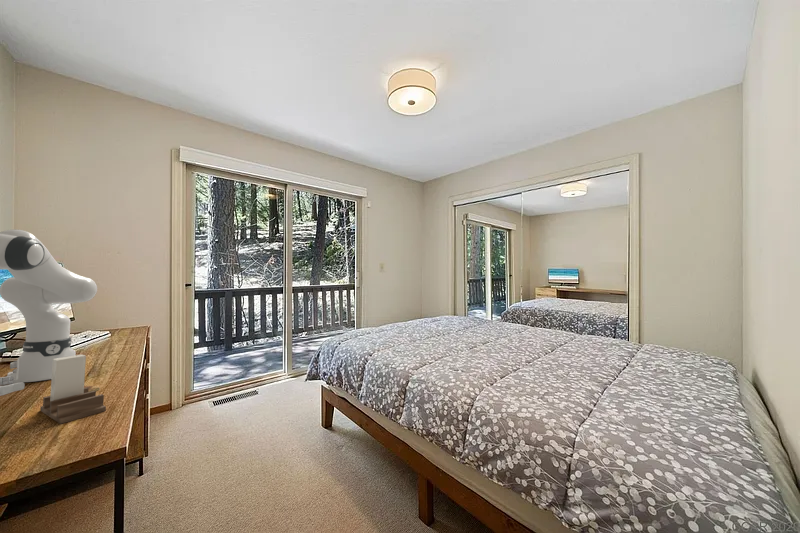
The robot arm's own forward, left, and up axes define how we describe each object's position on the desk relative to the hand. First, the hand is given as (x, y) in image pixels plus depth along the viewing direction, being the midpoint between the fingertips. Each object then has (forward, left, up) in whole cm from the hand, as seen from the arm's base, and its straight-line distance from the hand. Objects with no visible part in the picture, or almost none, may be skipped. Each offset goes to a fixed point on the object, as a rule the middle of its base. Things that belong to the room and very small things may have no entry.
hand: (18, 382), depth 79 cm
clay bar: (0, +9, -10) cm, 13 cm away
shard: (-12, +16, -11) cm, 23 cm away
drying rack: (+3, +10, -11) cm, 15 cm away
